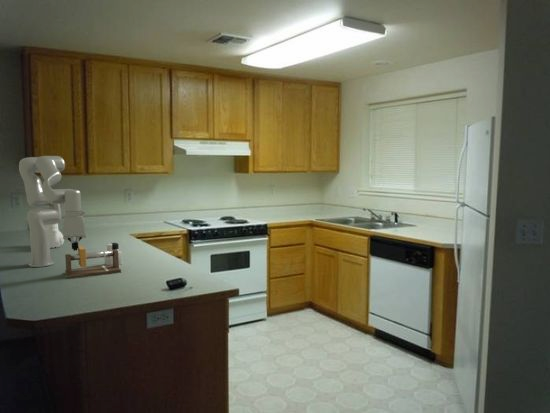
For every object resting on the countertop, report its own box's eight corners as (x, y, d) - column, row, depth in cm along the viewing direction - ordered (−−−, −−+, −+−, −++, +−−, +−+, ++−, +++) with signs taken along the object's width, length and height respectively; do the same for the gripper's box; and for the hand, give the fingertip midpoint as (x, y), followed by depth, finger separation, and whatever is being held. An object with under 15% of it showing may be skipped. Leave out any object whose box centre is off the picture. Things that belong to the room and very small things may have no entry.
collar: (78, 263, 239) (77, 246, 238) (83, 263, 240) (82, 246, 240) (81, 267, 231) (80, 249, 231) (86, 266, 233) (85, 249, 232)
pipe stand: (65, 272, 239) (64, 252, 238) (115, 266, 252) (114, 247, 251) (68, 278, 226) (67, 257, 225) (120, 272, 239) (120, 252, 238)
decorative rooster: (40, 245, 317) (38, 210, 315) (65, 244, 323) (63, 209, 321) (35, 252, 294) (33, 213, 292) (62, 250, 300) (60, 212, 297)
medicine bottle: (116, 262, 263) (115, 241, 262) (122, 264, 258) (121, 243, 257) (104, 264, 258) (103, 243, 257) (110, 266, 253) (109, 244, 252)
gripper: (88, 212, 239) (89, 247, 241) (56, 214, 231) (58, 250, 233) (90, 214, 232) (92, 249, 234) (57, 216, 225) (59, 252, 227)
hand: (75, 250), depth 234 cm, fingers closed
